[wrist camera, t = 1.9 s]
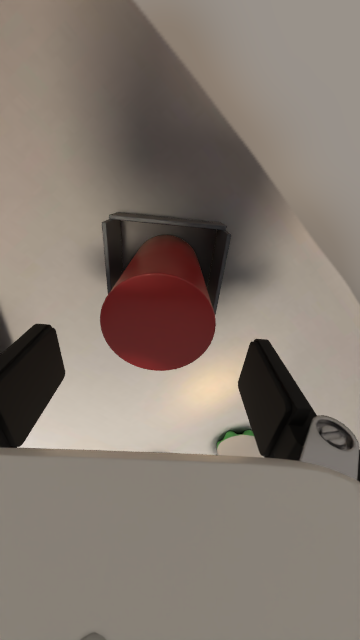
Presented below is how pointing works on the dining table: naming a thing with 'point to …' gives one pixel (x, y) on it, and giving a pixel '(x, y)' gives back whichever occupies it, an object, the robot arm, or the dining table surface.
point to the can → (159, 307)
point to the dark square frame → (113, 225)
